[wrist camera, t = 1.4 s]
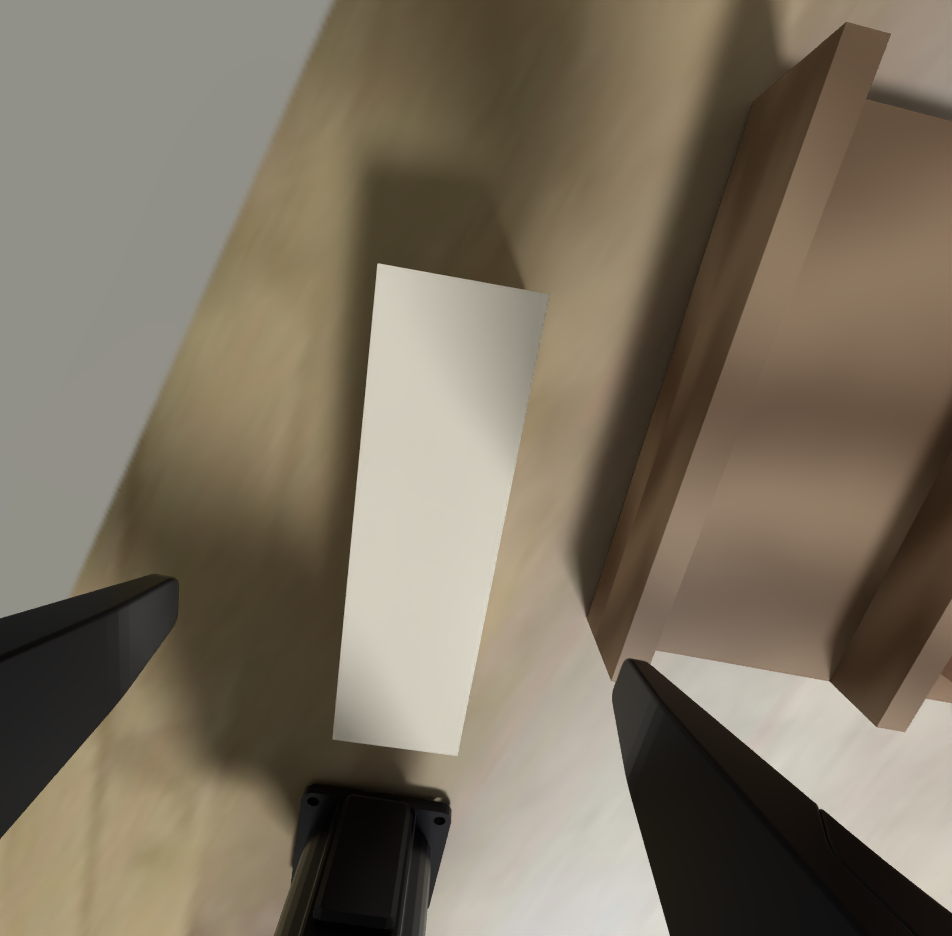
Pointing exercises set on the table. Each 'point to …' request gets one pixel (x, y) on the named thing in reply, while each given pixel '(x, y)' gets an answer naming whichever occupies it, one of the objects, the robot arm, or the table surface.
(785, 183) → the drying rack
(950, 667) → the light brown wooden block
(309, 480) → the table surface
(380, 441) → the clay strip
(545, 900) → the table surface
